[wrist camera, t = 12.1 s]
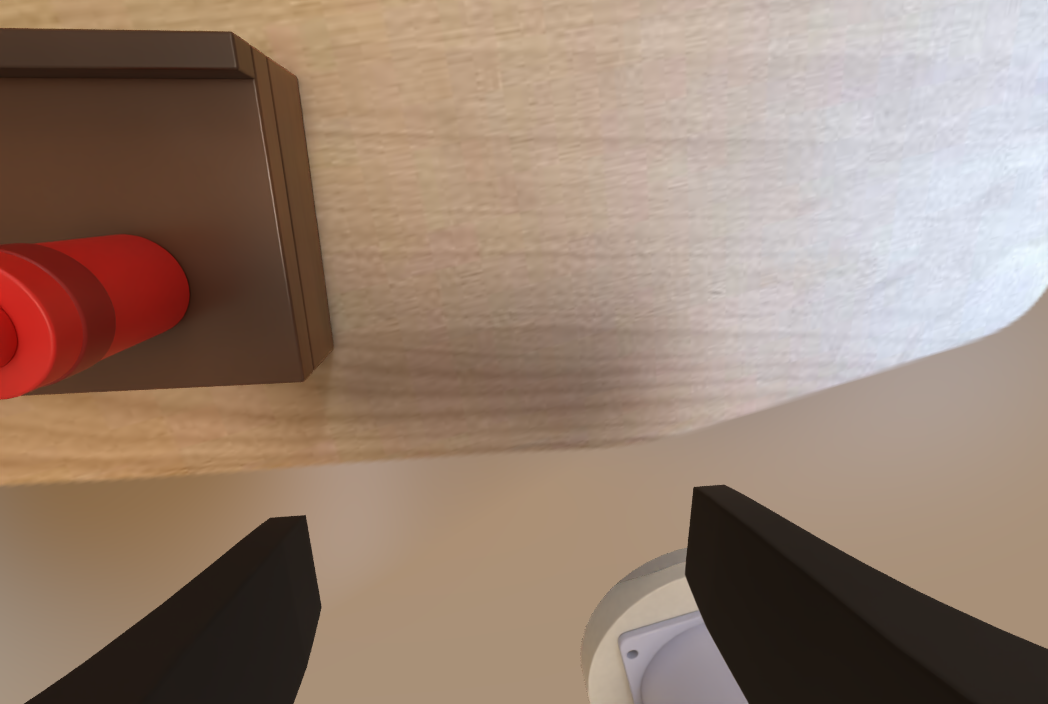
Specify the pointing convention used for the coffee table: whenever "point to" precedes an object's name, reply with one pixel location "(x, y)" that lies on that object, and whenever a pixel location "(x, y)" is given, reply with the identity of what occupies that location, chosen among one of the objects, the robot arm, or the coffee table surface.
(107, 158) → the shelf
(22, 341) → the red bottle
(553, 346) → the coffee table surface
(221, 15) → the coffee table surface
